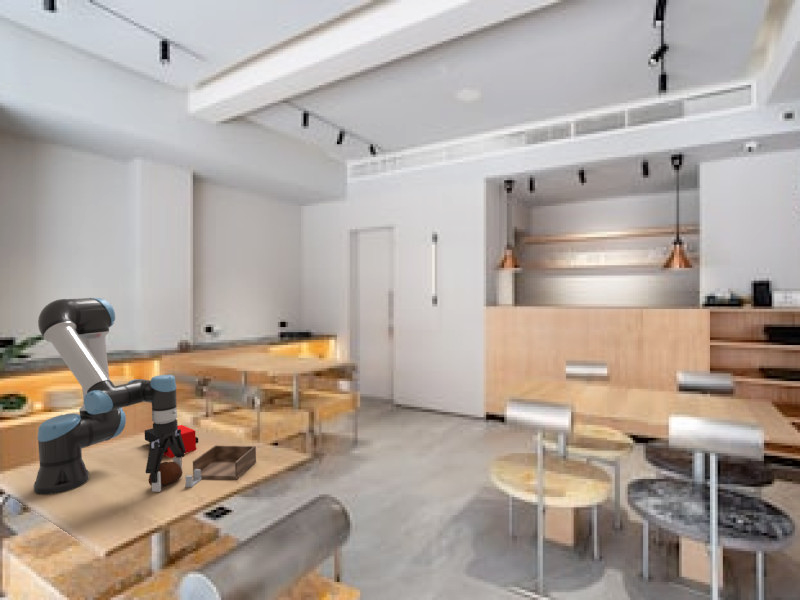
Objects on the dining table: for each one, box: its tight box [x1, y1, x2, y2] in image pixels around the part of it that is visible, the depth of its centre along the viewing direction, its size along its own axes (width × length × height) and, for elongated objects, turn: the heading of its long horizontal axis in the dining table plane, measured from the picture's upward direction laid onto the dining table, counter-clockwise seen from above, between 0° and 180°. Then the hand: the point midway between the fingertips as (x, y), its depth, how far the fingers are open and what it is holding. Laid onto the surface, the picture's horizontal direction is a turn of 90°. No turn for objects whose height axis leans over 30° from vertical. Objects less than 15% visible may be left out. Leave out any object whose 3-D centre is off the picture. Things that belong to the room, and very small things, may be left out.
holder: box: [192, 445, 257, 481], centre depth 162 cm, size 16×15×6 cm
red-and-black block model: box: [144, 424, 199, 459], centre depth 186 cm, size 15×8×25 cm
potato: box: [148, 461, 183, 487], centre depth 151 cm, size 8×12×8 cm, turn 157°
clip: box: [184, 469, 202, 488], centre depth 151 cm, size 2×6×4 cm, turn 174°
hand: (167, 483), depth 151 cm, fingers open, 11 cm apart
